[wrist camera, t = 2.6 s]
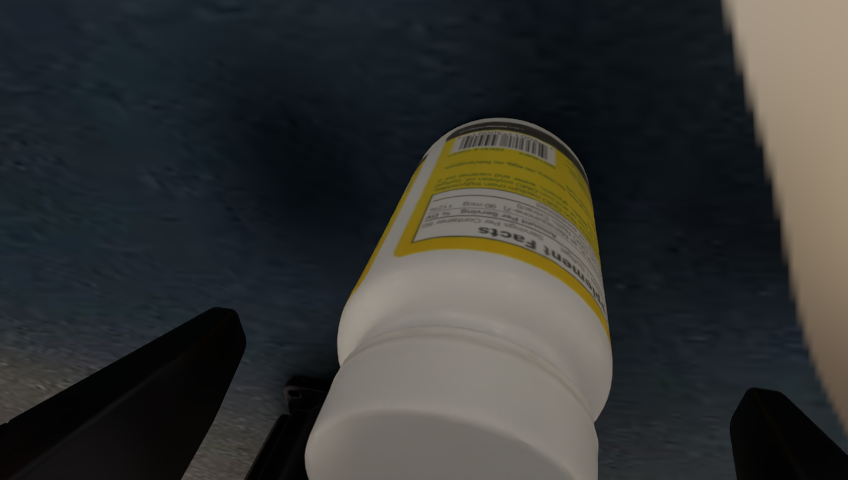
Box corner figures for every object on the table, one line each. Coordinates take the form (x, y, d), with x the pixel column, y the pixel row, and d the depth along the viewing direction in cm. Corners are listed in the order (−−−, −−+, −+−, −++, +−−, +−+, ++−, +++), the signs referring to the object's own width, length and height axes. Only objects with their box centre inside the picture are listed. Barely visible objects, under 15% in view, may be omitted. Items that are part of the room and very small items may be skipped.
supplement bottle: (480, 288, 15) (418, 598, 8) (381, 176, 14) (208, 445, 7) (627, 219, 13) (705, 579, 6) (525, 72, 11) (474, 332, 4)
